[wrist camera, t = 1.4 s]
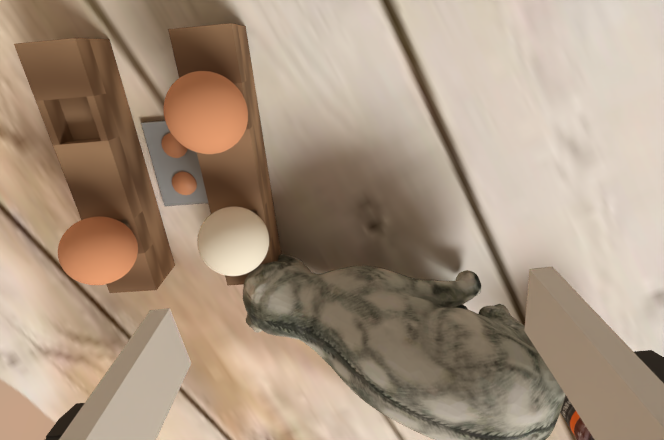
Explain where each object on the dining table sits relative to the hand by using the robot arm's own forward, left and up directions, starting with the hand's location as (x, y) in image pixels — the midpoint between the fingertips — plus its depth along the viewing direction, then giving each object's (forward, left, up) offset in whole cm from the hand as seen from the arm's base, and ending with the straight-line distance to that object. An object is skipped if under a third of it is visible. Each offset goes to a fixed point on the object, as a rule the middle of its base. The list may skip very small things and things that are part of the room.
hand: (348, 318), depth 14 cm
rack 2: (-2, -8, -19) cm, 21 cm away
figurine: (+11, +3, -19) cm, 22 cm away
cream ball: (+3, -8, -13) cm, 16 cm away
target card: (-2, -13, -19) cm, 23 cm away
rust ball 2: (-6, -8, -13) cm, 17 cm away
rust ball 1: (+3, -18, -13) cm, 22 cm away
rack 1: (-2, -18, -19) cm, 26 cm away
